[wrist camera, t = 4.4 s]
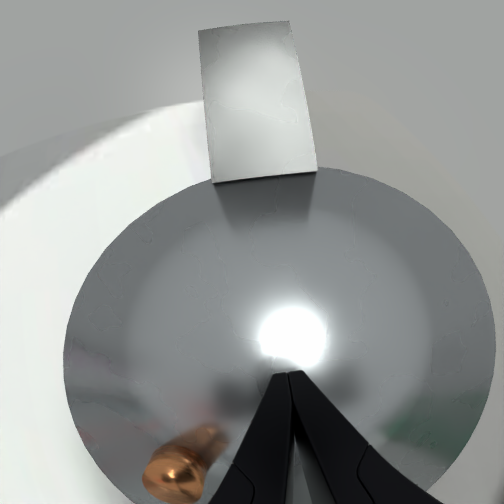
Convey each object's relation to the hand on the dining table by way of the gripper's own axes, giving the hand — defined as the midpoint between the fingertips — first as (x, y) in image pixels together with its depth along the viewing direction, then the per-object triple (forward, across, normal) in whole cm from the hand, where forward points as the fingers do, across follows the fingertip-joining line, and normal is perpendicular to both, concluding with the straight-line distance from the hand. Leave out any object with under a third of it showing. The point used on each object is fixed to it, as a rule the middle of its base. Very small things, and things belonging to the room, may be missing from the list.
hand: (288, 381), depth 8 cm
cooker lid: (+1, 0, 0) cm, 1 cm away
